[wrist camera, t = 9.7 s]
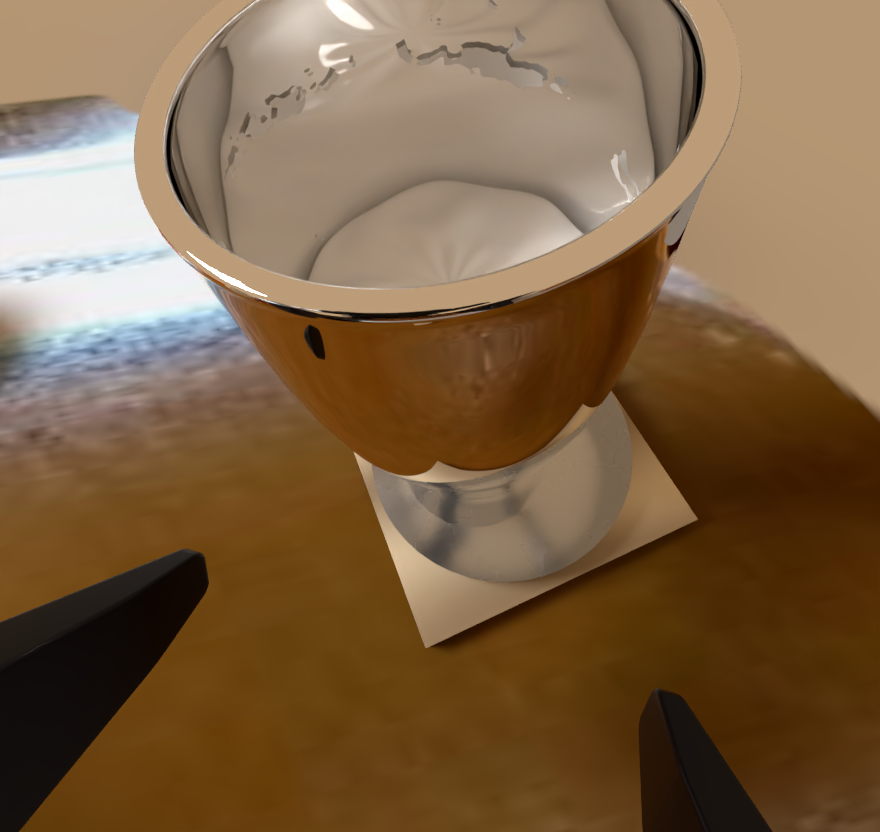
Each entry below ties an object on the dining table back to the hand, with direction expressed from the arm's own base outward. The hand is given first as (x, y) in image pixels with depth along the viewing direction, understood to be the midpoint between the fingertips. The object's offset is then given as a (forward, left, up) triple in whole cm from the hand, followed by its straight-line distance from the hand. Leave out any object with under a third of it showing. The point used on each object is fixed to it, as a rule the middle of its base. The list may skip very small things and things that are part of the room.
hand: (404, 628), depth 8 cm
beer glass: (+5, -4, -9) cm, 11 cm away
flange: (+5, -5, -11) cm, 13 cm away
